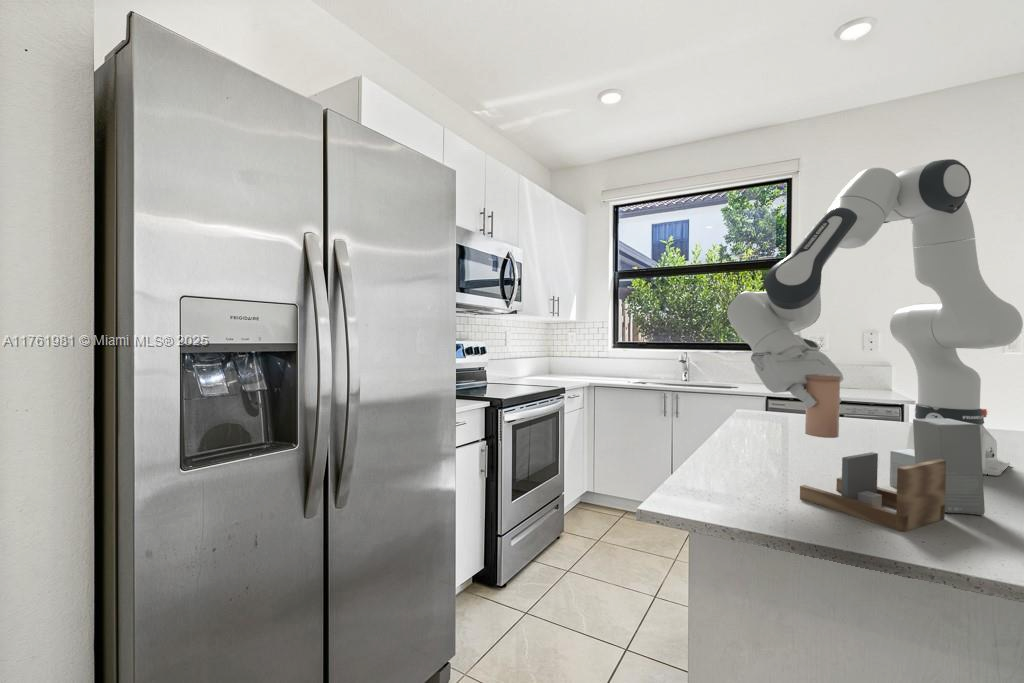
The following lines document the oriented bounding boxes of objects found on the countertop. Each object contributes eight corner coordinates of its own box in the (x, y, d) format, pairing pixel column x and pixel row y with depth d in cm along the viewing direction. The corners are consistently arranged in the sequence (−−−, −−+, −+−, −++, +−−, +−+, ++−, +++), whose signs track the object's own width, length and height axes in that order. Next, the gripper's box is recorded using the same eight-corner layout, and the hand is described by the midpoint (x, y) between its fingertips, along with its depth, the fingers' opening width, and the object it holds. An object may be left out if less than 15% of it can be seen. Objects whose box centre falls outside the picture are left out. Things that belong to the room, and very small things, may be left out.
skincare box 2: (985, 516, 84) (988, 425, 84) (938, 513, 86) (940, 423, 86) (952, 500, 93) (954, 416, 92) (909, 497, 94) (911, 415, 94)
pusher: (870, 499, 92) (871, 452, 92) (891, 505, 89) (892, 456, 89) (841, 507, 88) (842, 457, 88) (861, 513, 85) (862, 462, 85)
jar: (816, 430, 101) (817, 373, 100) (845, 436, 96) (847, 376, 95) (798, 433, 98) (799, 374, 98) (827, 439, 93) (828, 377, 93)
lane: (840, 489, 99) (841, 439, 98) (944, 518, 83) (946, 460, 83) (799, 498, 93) (800, 446, 93) (903, 531, 78) (904, 469, 77)
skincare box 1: (908, 482, 103) (909, 448, 103) (941, 491, 98) (942, 455, 98) (888, 485, 101) (889, 450, 101) (921, 495, 96) (922, 457, 95)
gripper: (756, 342, 98) (802, 397, 90) (821, 342, 107) (868, 392, 98) (737, 363, 102) (779, 417, 94) (801, 361, 111) (845, 410, 102)
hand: (825, 404), depth 96 cm, fingers closed on jar, 6 cm apart
